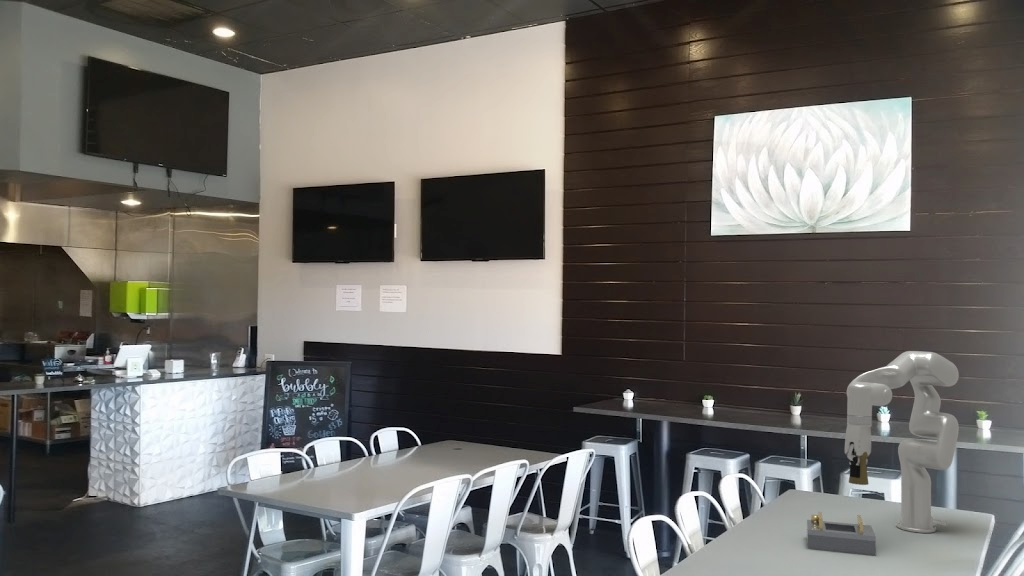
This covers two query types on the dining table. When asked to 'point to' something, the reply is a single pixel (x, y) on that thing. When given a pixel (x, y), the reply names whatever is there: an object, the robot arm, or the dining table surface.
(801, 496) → the dining table surface
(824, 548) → the grey slotted box
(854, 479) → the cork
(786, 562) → the dining table surface
